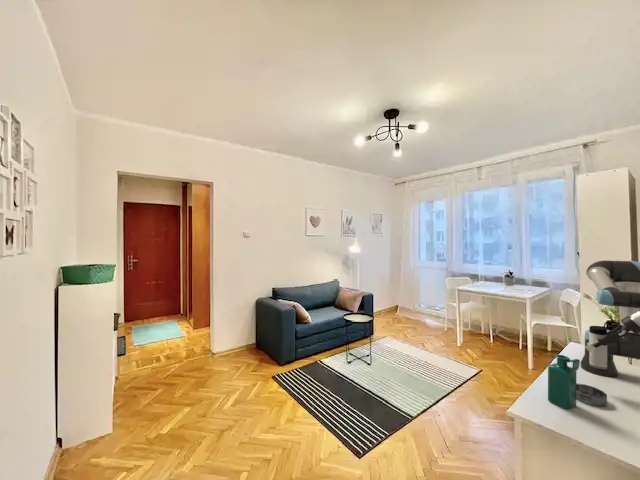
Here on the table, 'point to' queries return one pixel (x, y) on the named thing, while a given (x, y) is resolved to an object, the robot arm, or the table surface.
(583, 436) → the table surface
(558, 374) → the green bottle
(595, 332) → the travel mug
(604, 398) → the ring collar
